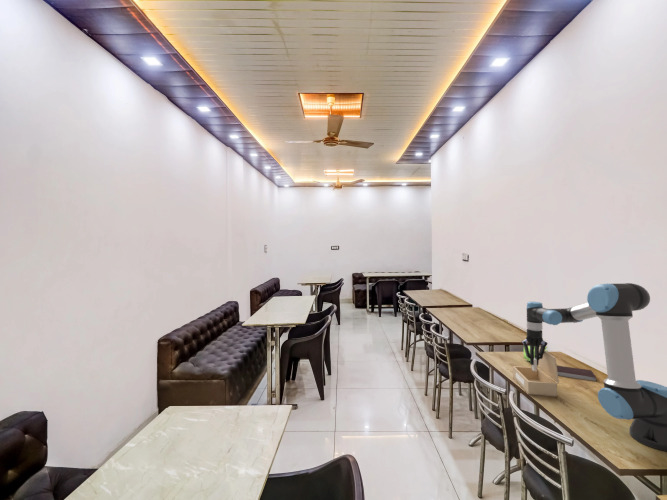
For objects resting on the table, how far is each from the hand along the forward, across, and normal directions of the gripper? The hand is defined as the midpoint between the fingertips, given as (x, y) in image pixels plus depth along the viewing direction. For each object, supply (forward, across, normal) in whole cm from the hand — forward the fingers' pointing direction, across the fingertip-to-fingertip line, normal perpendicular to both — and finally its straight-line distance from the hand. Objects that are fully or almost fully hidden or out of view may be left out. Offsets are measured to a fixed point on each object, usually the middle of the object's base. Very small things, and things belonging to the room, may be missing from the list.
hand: (534, 370), depth 181 cm
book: (+10, -32, -22) cm, 40 cm away
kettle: (+10, -18, -41) cm, 46 cm away
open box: (+9, 0, 0) cm, 9 cm away
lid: (-5, -6, 0) cm, 8 cm away
